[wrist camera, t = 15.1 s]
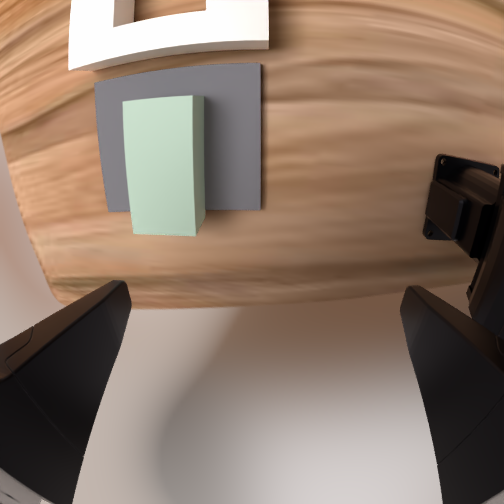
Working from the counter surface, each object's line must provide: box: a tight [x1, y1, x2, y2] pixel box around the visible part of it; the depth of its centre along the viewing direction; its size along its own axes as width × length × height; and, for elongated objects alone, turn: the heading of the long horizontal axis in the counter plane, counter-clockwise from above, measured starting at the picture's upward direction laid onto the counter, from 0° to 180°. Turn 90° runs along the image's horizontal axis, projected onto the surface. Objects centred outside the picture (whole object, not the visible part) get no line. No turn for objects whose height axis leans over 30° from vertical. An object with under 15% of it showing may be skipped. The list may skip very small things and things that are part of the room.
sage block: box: [123, 95, 205, 236], centre depth 17 cm, size 4×8×3 cm, turn 178°
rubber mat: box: [95, 63, 261, 212], centre depth 18 cm, size 11×10×1 cm
